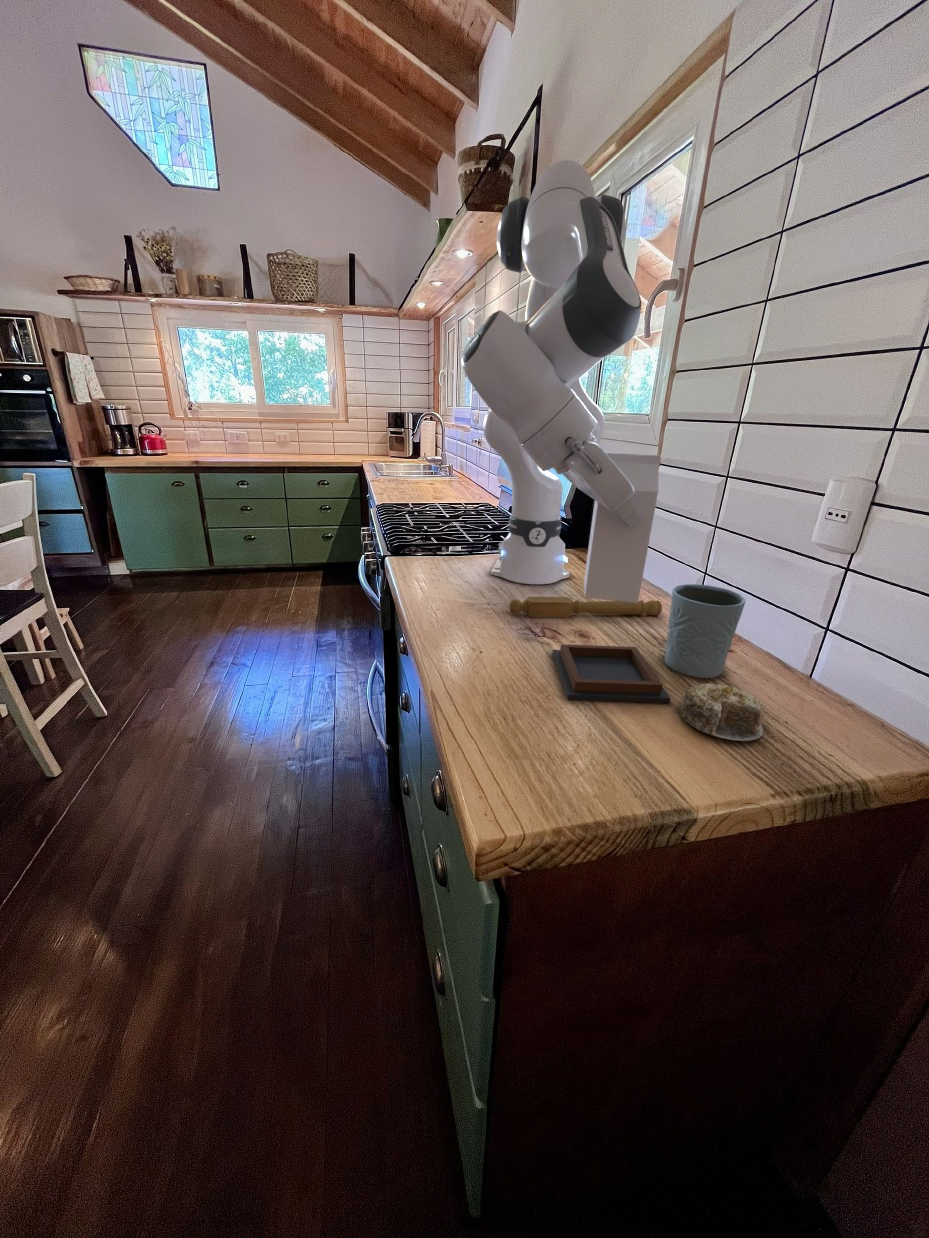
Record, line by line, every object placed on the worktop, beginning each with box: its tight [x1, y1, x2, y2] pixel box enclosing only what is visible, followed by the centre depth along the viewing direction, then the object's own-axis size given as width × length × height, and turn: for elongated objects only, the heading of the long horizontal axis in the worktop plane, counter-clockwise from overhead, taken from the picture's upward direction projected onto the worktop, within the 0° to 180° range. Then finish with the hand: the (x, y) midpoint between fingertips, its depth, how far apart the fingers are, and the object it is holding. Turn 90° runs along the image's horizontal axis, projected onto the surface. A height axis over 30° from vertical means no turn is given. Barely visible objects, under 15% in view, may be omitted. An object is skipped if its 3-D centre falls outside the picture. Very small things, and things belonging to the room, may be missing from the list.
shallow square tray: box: [552, 643, 671, 704], centre depth 74 cm, size 14×14×2 cm
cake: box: [678, 683, 764, 742], centre depth 64 cm, size 10×10×5 cm
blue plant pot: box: [664, 583, 746, 679], centre depth 77 cm, size 10×10×12 cm
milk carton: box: [583, 452, 661, 603], centre depth 68 cm, size 7×7×19 cm
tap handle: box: [508, 596, 663, 618], centre depth 97 cm, size 3×3×30 cm
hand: (625, 517), depth 67 cm, fingers closed on milk carton, 7 cm apart
